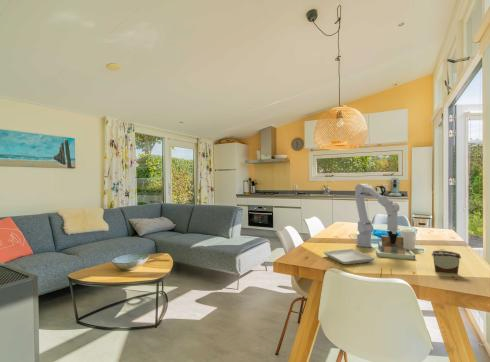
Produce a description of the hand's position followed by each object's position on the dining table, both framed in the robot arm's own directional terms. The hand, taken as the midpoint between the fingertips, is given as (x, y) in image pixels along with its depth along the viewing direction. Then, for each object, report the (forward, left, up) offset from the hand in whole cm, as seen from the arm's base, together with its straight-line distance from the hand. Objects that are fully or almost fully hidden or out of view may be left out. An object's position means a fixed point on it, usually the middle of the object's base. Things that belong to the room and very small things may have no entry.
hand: (392, 243), depth 174 cm
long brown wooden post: (0, 0, -2) cm, 2 cm away
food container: (+19, -31, -6) cm, 37 cm away
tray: (0, -7, -6) cm, 9 cm away
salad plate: (-27, -25, -7) cm, 37 cm away
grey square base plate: (0, +6, -6) cm, 8 cm away
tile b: (+3, -6, -3) cm, 8 cm away
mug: (+13, +17, -6) cm, 22 cm away
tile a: (-3, -3, -4) cm, 6 cm away
